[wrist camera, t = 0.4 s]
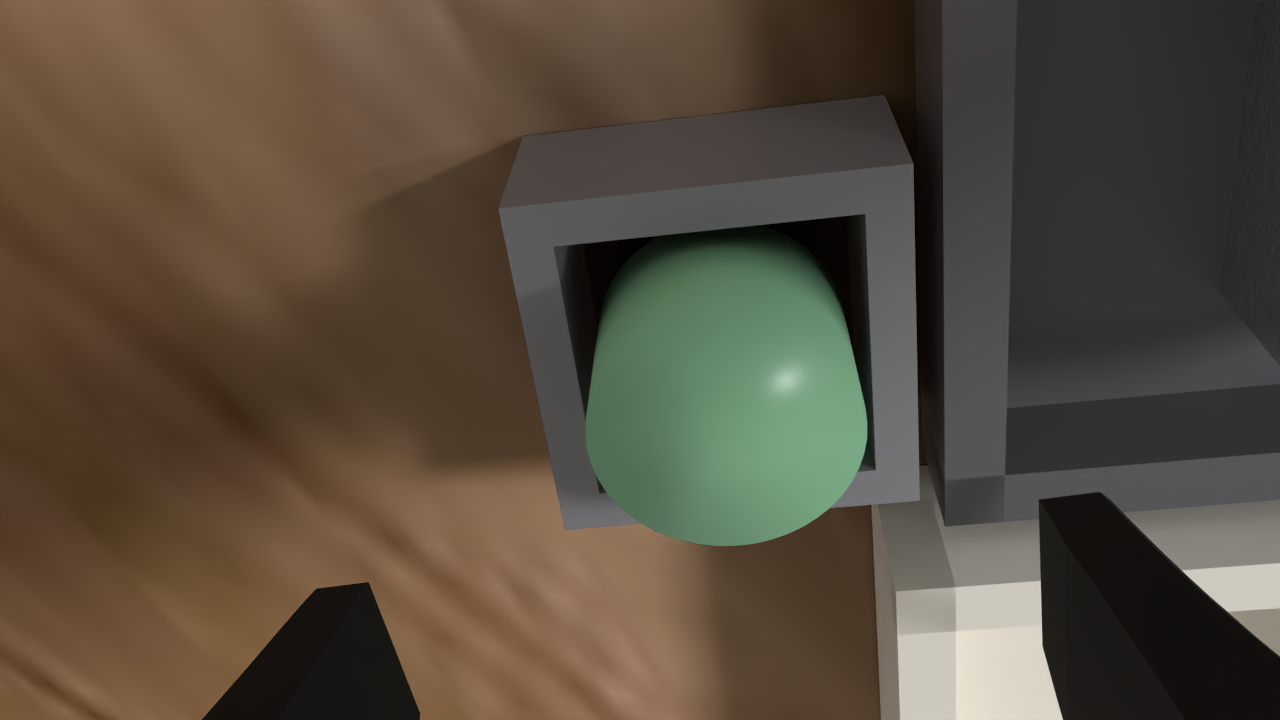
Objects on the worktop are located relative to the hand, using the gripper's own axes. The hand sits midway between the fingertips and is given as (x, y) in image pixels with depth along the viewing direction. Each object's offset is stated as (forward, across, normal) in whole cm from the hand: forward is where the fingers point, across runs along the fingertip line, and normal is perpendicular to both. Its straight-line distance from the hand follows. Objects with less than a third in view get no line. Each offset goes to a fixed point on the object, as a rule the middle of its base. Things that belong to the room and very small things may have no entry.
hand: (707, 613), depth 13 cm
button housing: (+10, 0, +1) cm, 10 cm away
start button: (+8, 0, +1) cm, 8 cm away
